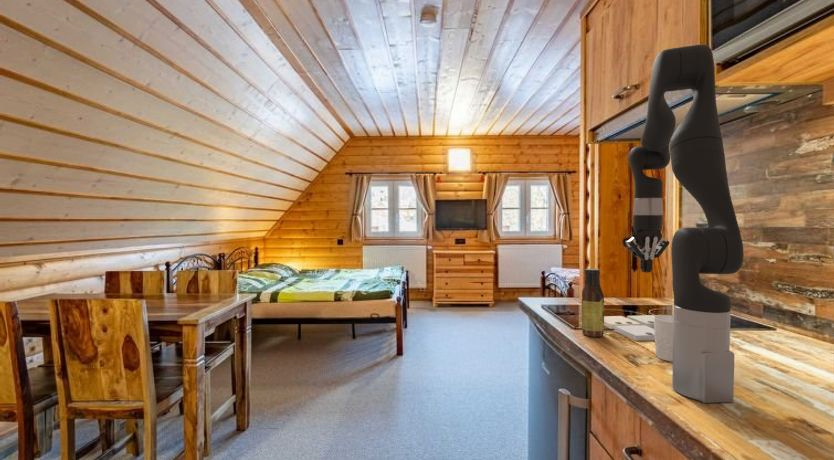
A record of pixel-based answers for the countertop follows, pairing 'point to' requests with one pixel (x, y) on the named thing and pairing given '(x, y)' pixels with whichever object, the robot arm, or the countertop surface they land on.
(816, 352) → the countertop surface
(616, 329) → the tile one
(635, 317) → the tile three
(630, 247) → the robot arm
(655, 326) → the white cup
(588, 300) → the sauce bottle
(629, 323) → the tile two
